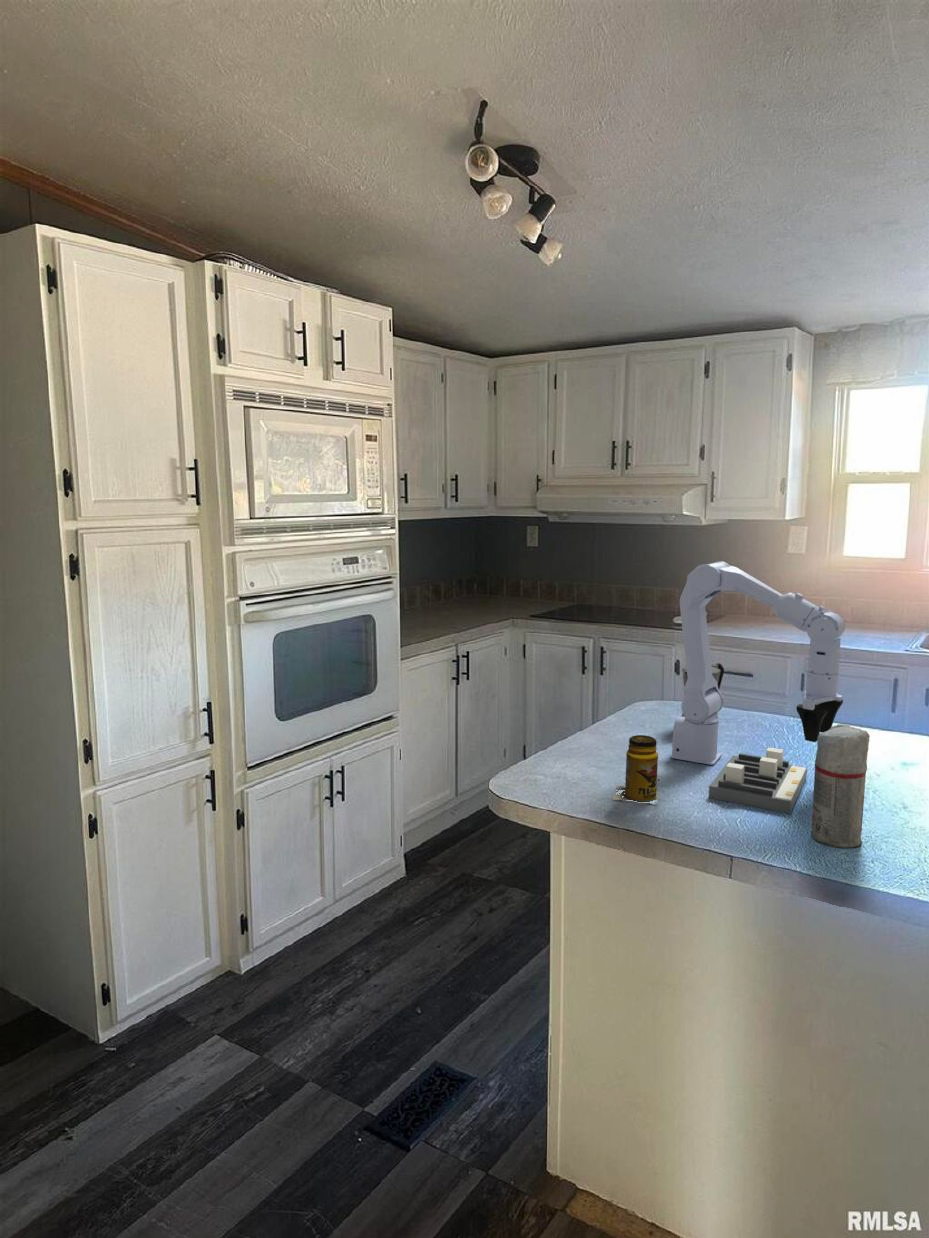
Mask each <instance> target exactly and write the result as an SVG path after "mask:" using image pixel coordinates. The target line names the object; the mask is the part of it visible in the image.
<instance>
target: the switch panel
mask: <svg viewBox="0 0 929 1238" xmlns="http://www.w3.org/2000/svg"><path fill="white" fill-rule="evenodd" d="M762 757H763V756H758V755H753V754H747V753H738V755H735V754H734V755H732V756H731V757H730V759H729V760H728V762H727V763H726V764H725V765H724V766H723V768H721V770H720V771H719V772H718V774H717V775H716V777H715V778H714V779H713V781H711V783H710V785H709V787H708V798H709V799H713V800H719V801H725V802H729V803H735V804H739V805H745V806H749V807H755V808H761V809H764V810H771V811H773V812H774V811H775V812H779V813H780V812H781V813H785V814H791V813H792V810H793V808H794V806H795V804H796V801H797V799H798V797H799V795H800V793H801V791H802V788H803V787H804V784H805V783H806V780H807V775H808V773H807V772H808V767H806V766H805V767H804V766H800V765H793V764H789V763H790V761H789V760H784V759H783V766H782V767H779V766H777V777H776V778H775V777H770V776H764V775H759V765H760V759H761V758H762ZM728 763H734V764H740V765H745V767H744V783H743V784H739V783H734V782H729V781H725V777H726V766H727V764H728Z"/></svg>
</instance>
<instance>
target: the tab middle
mask: <svg viewBox="0 0 929 1238" xmlns="http://www.w3.org/2000/svg"><path fill="white" fill-rule="evenodd" d="M761 757H762V758H761V759H760V765H759V775H764V776H770V777H775V778H776V777H777V763H778V759H772V758H766V756H761Z"/></svg>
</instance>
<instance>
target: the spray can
mask: <svg viewBox="0 0 929 1238" xmlns="http://www.w3.org/2000/svg"><path fill="white" fill-rule="evenodd" d="M816 744H817V748H816V754H815V760H814V776H813V778H814V779H813V798H812V813H811V814H812V815H811V831H810V833H811V836H812V837H813V839H814V840H816V841H817V842H819V843H822V844H824V845H826V846H830V847H837V848H845V849H848V848H854V847H858V846H861V845H862V843H863V841H862V831H863V817H864V816H863V815H864V803H865V791H866V777H867V771H868V765H867V762H868V755H869V753H868V752H869V744H870V734H869V733H868V731H866V730H864V729H861V728H860V727H859V728H857V727H855V726H851V725H849V724H841V723H840V724H836V725H832V727H831V728H830V729H829V730H828V731H826V732H820V733H819V735H818V738H817V742H816Z"/></svg>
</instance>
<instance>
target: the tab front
mask: <svg viewBox="0 0 929 1238" xmlns="http://www.w3.org/2000/svg"><path fill="white" fill-rule="evenodd" d="M727 763H728V762H727ZM727 763H726V764H727ZM744 767H745V765H740V764H734V763H728V764H727V766H726V777H725V781H729V782H734V783H739V784H743V783H744Z"/></svg>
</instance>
